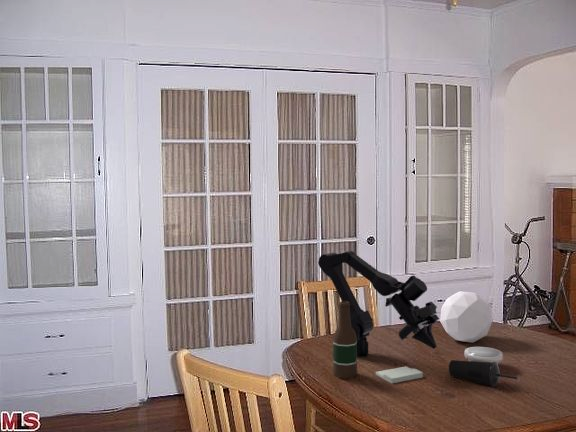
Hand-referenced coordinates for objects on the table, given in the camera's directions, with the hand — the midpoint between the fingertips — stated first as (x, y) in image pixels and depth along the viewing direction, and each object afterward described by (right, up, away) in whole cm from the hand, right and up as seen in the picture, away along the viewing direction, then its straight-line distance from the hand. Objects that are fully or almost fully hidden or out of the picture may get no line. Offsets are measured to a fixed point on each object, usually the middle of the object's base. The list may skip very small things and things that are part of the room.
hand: (435, 347), depth 183 cm
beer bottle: (-29, -9, -1) cm, 31 cm away
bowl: (+17, -7, +5) cm, 19 cm away
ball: (+21, -6, +35) cm, 41 cm away
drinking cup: (+4, -6, -4) cm, 8 cm away
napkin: (-12, -8, -3) cm, 15 cm away
